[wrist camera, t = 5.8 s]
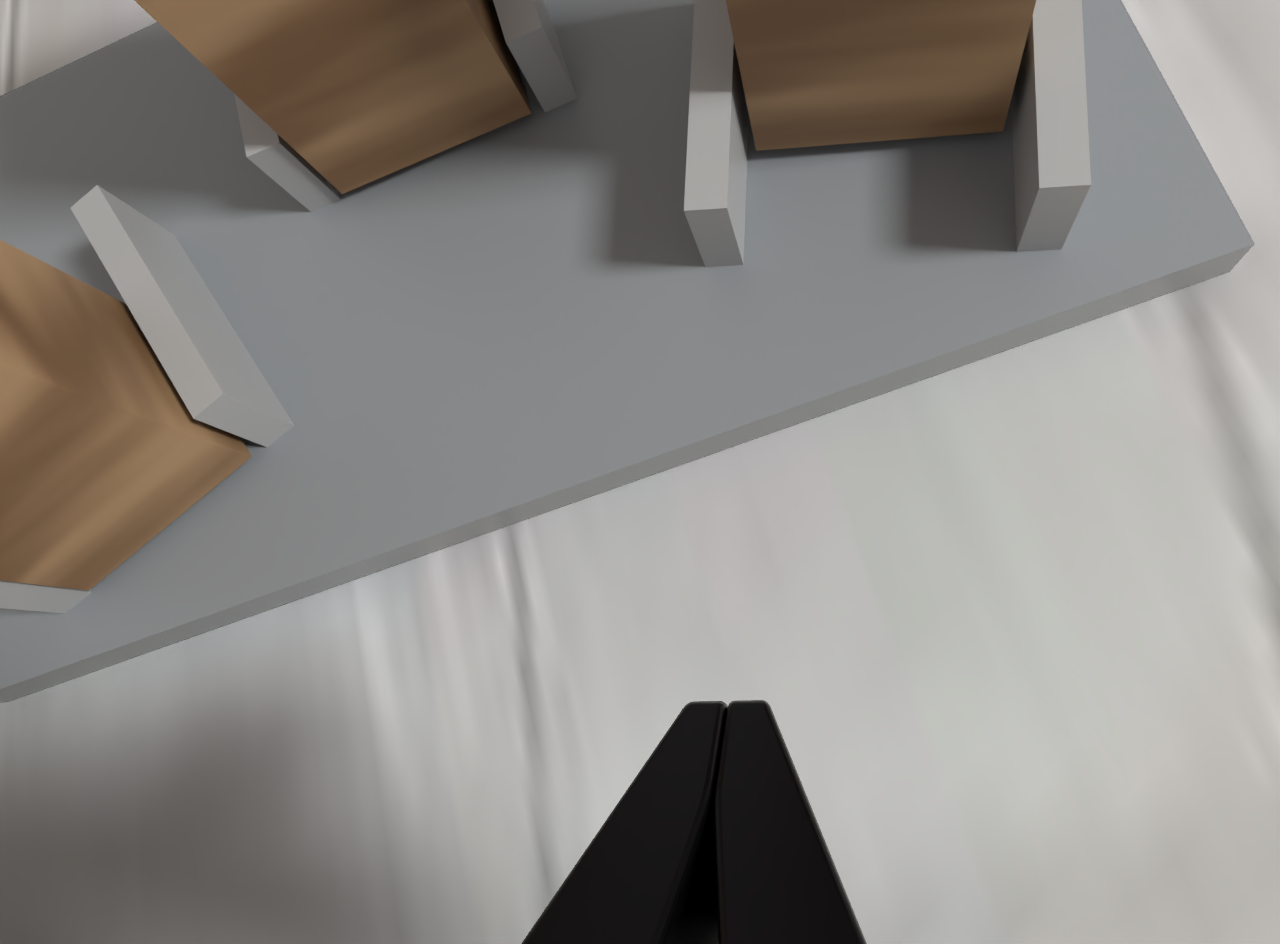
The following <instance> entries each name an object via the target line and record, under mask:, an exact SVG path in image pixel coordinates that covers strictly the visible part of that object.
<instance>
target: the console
mask: <svg viewBox="0 0 1280 944" xmlns="http://www.w3.org/2000/svg"><path fill="white" fill-rule="evenodd" d="M493 2H494V5H495V8H496V12H497V15H498V18H499V21H500V25H501V28H502V31H503V35H504V38H505V41H506V44H507V46H508V47H509V49H510V51H511V53H512V55H513V56H514V58H515V61H516V64H517V67H518V71H519V74H520V77H521V81H522V84H523V87H524V90H525V94H526V97H527V100H528V104H529V107H530V110H531V114H529V115H527V116H524V117H522V118H520V119H517V120H515V121H513V122H510V123H508V124H506V125H503V126H501V127H499V128H496V129H494V130H492V131H489V132H487V133H484V134H482V135H480V136H477V137H475V138H473V139H470V140H468V141H466V142H463V143H461V144H459V145H456V146H454V147H452V148H449V149H447V150H445V151H442V152H440V153H438V154H435V155H433V156H430V157H428V158H426V159H423V160H421V161H419V162H416V163H414V164H412V165H409V166H407V167H405V168H402V169H400V170H398V171H395V172H393V173H391V174H388V175H386V176H383V177H381V178H379V179H376V180H374V181H372V182H369V183H367V184H365V185H362V186H360V187H358V188H355V189H353V190H351V191H348V192H346V193H344V194H341V193H340V192H339V191H338V190H337V189H336V188H335V187H334V186H333V185H332V184H331V183H330V182H329V181H327V180H326V179H325V178H324V177H323V176H322V175H321V174H320V173H319V172H318V171H317V170H316V169H315V168H314V167H312V166H311V165H310V164H309V163H308V162H307V161H306V160H305V159H304V158H303V157H302V156H301V155H300V154H299V153H297V152H296V151H295V150H294V149H293V148H292V147H291V146H290V145H289V144H288V143H287V142H286V141H285V140H284V139H282V138H281V137H280V136H279V135H278V134H277V133H276V132H275V131H274V130H273V129H272V128H271V127H270V126H269V125H267V124H266V123H265V122H264V121H263V120H262V119H261V118H260V117H259V116H258V115H257V114H256V113H255V112H254V111H252V110H251V109H250V108H249V107H248V106H247V105H246V104H245V103H244V102H243V101H242V100H241V99H240V98H239V97H237V96H236V95H235V94H234V93H233V92H232V91H231V90H230V89H229V88H228V87H227V86H226V85H225V84H224V83H222V82H221V81H220V80H219V79H218V78H217V77H216V76H215V75H214V74H213V73H212V72H211V71H210V70H209V69H207V68H206V67H205V66H204V65H203V64H202V63H201V62H200V61H199V60H198V59H197V58H196V57H195V56H194V55H192V54H191V53H190V52H189V51H188V50H187V49H186V48H185V47H184V46H183V45H182V44H181V43H180V42H179V41H177V40H176V39H175V38H174V37H173V36H172V35H171V34H170V33H169V32H168V31H167V30H166V29H165V28H163V27H162V26H161V25H160V24H159V23H158V22H156V23H154V24H152V25H150V26H148V27H146V28H144V29H142V30H140V31H137V32H135V33H133V34H131V35H129V36H127V37H125V38H123V39H121V40H119V41H116V42H114V43H112V44H110V45H108V46H106V47H104V48H102V49H100V50H97V51H95V52H93V53H91V54H89V55H87V56H85V57H83V58H81V59H78V60H76V61H74V62H72V63H70V64H68V65H66V66H64V67H62V68H60V69H57V70H55V71H53V72H51V73H49V74H47V75H45V76H43V77H41V78H38V79H36V80H34V81H32V82H30V83H28V84H26V85H24V86H22V87H20V88H17V89H15V90H13V91H11V92H9V93H7V94H5V95H3V96H1V97H0V240H2V241H4V242H6V243H8V244H10V245H12V246H14V247H15V248H17V249H19V250H21V251H23V252H25V253H27V254H29V255H31V256H33V257H35V258H37V259H39V260H41V261H43V262H45V263H47V264H49V265H51V266H53V267H55V268H57V269H59V270H61V271H62V272H64V273H66V274H68V275H70V276H72V277H74V278H76V279H78V280H80V281H82V282H84V283H86V284H88V285H90V286H92V287H94V288H96V289H98V290H100V291H102V292H104V293H106V294H108V295H109V296H111V297H113V298H115V299H117V300H119V301H121V302H123V303H125V304H127V306H128V308H129V309H130V311H131V313H132V314H133V316H134V318H135V320H136V321H137V323H138V325H139V326H140V328H141V330H142V332H143V333H144V335H145V337H146V338H147V340H148V342H149V344H150V345H151V347H152V349H153V350H154V352H155V354H156V356H157V357H158V359H159V361H160V362H161V364H162V366H163V368H164V369H165V371H166V373H167V374H168V376H169V378H170V379H171V381H172V383H173V385H174V386H175V388H176V390H177V391H178V393H179V395H180V397H181V398H182V400H183V402H184V403H185V405H186V407H187V409H188V410H189V412H190V414H191V415H192V417H193V419H196V420H198V421H201V422H203V423H206V424H209V425H211V426H214V427H216V428H219V429H221V430H224V431H226V432H229V433H232V434H234V435H237V436H239V437H241V439H242V441H243V442H244V444H245V446H246V447H247V449H248V451H249V452H250V454H251V456H252V457H251V458H249V459H248V460H247V461H246V462H245V463H243V464H242V465H241V466H240V467H238V468H237V469H236V470H235V471H234V472H232V473H231V474H230V475H229V476H228V477H226V478H225V479H224V480H223V481H221V482H220V483H219V484H218V485H217V486H215V487H214V488H213V489H212V490H210V491H209V492H208V493H207V494H206V495H204V496H203V497H202V498H201V499H200V500H198V501H197V502H196V503H195V504H193V505H192V506H191V507H190V508H189V509H187V510H186V511H185V512H184V513H183V514H181V515H180V516H179V517H178V518H176V519H175V520H174V521H173V522H172V523H170V524H169V525H168V526H167V527H165V528H164V529H163V530H162V531H161V532H159V533H158V534H157V535H156V536H155V537H153V538H152V539H151V540H150V541H148V542H147V543H146V544H145V545H144V546H142V547H141V548H140V549H139V550H138V551H136V552H135V553H134V554H133V555H131V556H130V557H129V558H128V559H127V560H125V561H124V562H123V563H122V564H120V565H119V566H118V567H117V568H116V569H114V570H113V571H112V572H111V573H110V574H108V575H107V576H106V577H105V578H103V579H102V580H101V581H100V582H99V583H97V584H96V585H95V586H94V587H93V588H91V589H90V590H89V591H88V590H79V589H70V588H62V587H53V586H44V585H36V584H27V583H18V582H10V581H1V580H0V702H9V701H11V700H14V699H17V698H20V697H23V696H26V695H29V694H31V693H34V692H37V691H40V690H43V689H46V688H48V687H51V686H54V685H57V684H60V683H63V682H65V681H68V680H71V679H74V678H77V677H80V676H83V675H85V674H88V673H91V672H94V671H97V670H100V669H102V668H105V667H108V666H111V665H114V664H117V663H119V662H122V661H125V660H128V659H131V658H134V657H136V656H139V655H142V654H145V653H148V652H151V651H154V650H156V649H159V648H162V647H165V646H168V645H171V644H173V643H176V642H179V641H182V640H185V639H188V638H190V637H193V636H196V635H199V634H202V633H205V632H208V631H210V630H213V629H216V628H219V627H222V626H225V625H227V624H230V623H233V622H236V621H239V620H242V619H244V618H247V617H250V616H253V615H256V614H259V613H261V612H264V611H267V610H270V609H273V608H276V607H279V606H281V605H284V604H287V603H290V602H293V601H296V600H298V599H301V598H304V597H307V596H310V595H313V594H315V593H318V592H321V591H324V590H327V589H330V588H332V587H335V586H338V585H341V584H344V583H347V582H350V581H352V580H355V579H358V578H361V577H364V576H367V575H369V574H372V573H375V572H378V571H381V570H384V569H386V568H389V567H392V566H395V565H398V564H401V563H404V562H406V561H409V560H412V559H415V558H418V557H421V556H423V555H426V554H429V553H432V552H435V551H438V550H440V549H443V548H446V547H449V546H452V545H455V544H457V543H460V542H463V541H466V540H469V539H472V538H475V537H477V536H480V535H483V534H486V533H489V532H492V531H494V530H497V529H500V528H503V527H506V526H509V525H511V524H514V523H517V522H520V521H523V520H526V519H529V518H531V517H534V516H537V515H540V514H543V513H546V512H548V511H551V510H554V509H557V508H560V507H563V506H565V505H568V504H571V503H574V502H577V501H580V500H582V499H585V498H588V497H591V496H594V495H597V494H600V493H602V492H605V491H608V490H611V489H614V488H617V487H619V486H622V485H625V484H628V483H631V482H634V481H636V480H639V479H642V478H645V477H648V476H651V475H653V474H656V473H659V472H662V471H665V470H668V469H671V468H673V467H676V466H679V465H682V464H685V463H688V462H690V461H693V460H696V459H699V458H702V457H705V456H707V455H710V454H713V453H716V452H719V451H722V450H725V449H727V448H730V447H733V446H736V445H739V444H742V443H744V442H747V441H750V440H753V439H756V438H759V437H761V436H764V435H767V434H770V433H773V432H776V431H778V430H781V429H784V428H787V427H790V426H793V425H796V424H798V423H801V422H804V421H807V420H810V419H813V418H815V417H818V416H821V415H824V414H827V413H830V412H832V411H835V410H838V409H841V408H844V407H847V406H850V405H852V404H855V403H858V402H861V401H864V400H867V399H869V398H872V397H875V396H878V395H881V394H884V393H886V392H889V391H892V390H895V389H898V388H901V387H903V386H906V385H909V384H912V383H915V382H918V381H921V380H923V379H926V378H929V377H932V376H935V375H938V374H940V373H943V372H946V371H949V370H952V369H955V368H957V367H960V366H963V365H966V364H969V363H972V362H975V361H977V360H980V359H983V358H986V357H989V356H992V355H994V354H997V353H1000V352H1003V351H1006V350H1009V349H1011V348H1014V347H1017V346H1020V345H1023V344H1026V343H1028V342H1031V341H1034V340H1037V339H1040V338H1043V337H1046V336H1048V335H1051V334H1054V333H1057V332H1060V331H1063V330H1065V329H1068V328H1071V327H1074V326H1077V325H1080V324H1082V323H1085V322H1088V321H1091V320H1094V319H1097V318H1099V317H1102V316H1105V315H1108V314H1111V313H1114V312H1117V311H1119V310H1122V309H1125V308H1128V307H1131V306H1134V305H1136V304H1139V303H1142V302H1145V301H1148V300H1151V299H1153V298H1156V297H1159V296H1162V295H1165V294H1168V293H1171V292H1173V291H1176V290H1179V289H1182V288H1185V287H1188V286H1190V285H1193V284H1196V283H1199V282H1202V281H1205V280H1207V279H1210V278H1213V277H1216V276H1219V275H1222V274H1224V273H1227V272H1230V271H1231V270H1232V268H1233V267H1234V266H1235V265H1236V264H1237V263H1238V262H1239V261H1240V260H1241V258H1242V257H1243V256H1244V255H1245V254H1246V253H1247V252H1248V251H1249V249H1250V248H1251V247H1252V246H1253V245H1254V242H1253V240H1252V238H1251V236H1250V234H1249V233H1248V231H1247V229H1246V227H1245V225H1244V224H1243V222H1242V220H1241V218H1240V216H1239V214H1238V213H1237V211H1236V209H1235V207H1234V205H1233V203H1232V202H1231V200H1230V198H1229V196H1228V194H1227V193H1226V191H1225V189H1224V187H1223V185H1222V183H1221V182H1220V180H1219V178H1218V176H1217V174H1216V172H1215V171H1214V169H1213V167H1212V165H1211V163H1210V162H1209V160H1208V158H1207V156H1206V154H1205V152H1204V151H1203V149H1202V147H1201V145H1200V143H1199V141H1198V140H1197V138H1196V136H1195V134H1194V132H1193V131H1192V129H1191V127H1190V125H1189V123H1188V121H1187V120H1186V118H1185V116H1184V114H1183V112H1182V110H1181V109H1180V107H1179V105H1178V103H1177V101H1176V99H1175V98H1174V96H1173V94H1172V92H1171V90H1170V89H1169V87H1168V85H1167V83H1166V81H1165V79H1164V78H1163V76H1162V74H1161V72H1160V70H1159V68H1158V67H1157V65H1156V63H1155V61H1154V59H1153V58H1152V56H1151V54H1150V52H1149V50H1148V48H1147V47H1146V45H1145V43H1144V41H1143V39H1142V37H1141V36H1140V34H1139V32H1138V30H1137V28H1136V27H1135V25H1134V23H1133V21H1132V19H1131V17H1130V16H1129V14H1128V12H1127V10H1126V8H1125V6H1124V5H1123V3H1122V1H1121V0H1036V4H1035V8H1034V12H1033V16H1032V19H1031V23H1030V27H1029V31H1028V35H1027V39H1026V43H1025V47H1024V51H1023V55H1022V59H1021V63H1020V67H1019V71H1018V74H1017V78H1016V82H1015V86H1014V90H1013V94H1012V98H1011V102H1010V106H1009V110H1008V114H1007V118H1006V122H1005V125H1004V129H1003V131H1002V132H989V133H976V134H964V135H951V136H938V137H925V138H913V139H900V140H887V141H875V142H862V143H849V144H836V145H824V146H811V147H798V148H785V149H773V150H760V151H756V148H755V143H754V138H753V133H752V128H751V123H750V118H749V113H748V108H747V103H746V98H745V93H744V88H743V83H742V78H741V73H740V68H739V63H738V58H737V54H736V49H735V44H734V39H733V34H732V29H731V24H730V19H729V14H728V9H727V4H726V0H493Z"/></svg>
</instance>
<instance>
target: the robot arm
mask: <svg viewBox="0 0 1280 944" xmlns="http://www.w3.org/2000/svg"><path fill="white" fill-rule="evenodd" d="M522 944H866V941H865V939H864V936H863V934H862V931H861V929H860V926H859V924H858V921H857V919H856V916H855V914H854V912H853V909H852V907H851V904H850V902H849V899H848V897H847V894H846V892H845V889H844V887H843V884H842V882H841V880H840V877H839V875H838V872H837V870H836V867H835V865H834V862H833V860H832V857H831V855H830V852H829V850H828V848H827V845H826V843H825V840H824V838H823V835H822V833H821V830H820V828H819V825H818V823H817V820H816V818H815V816H814V813H813V811H812V808H811V806H810V803H809V801H808V798H807V796H806V793H805V791H804V789H803V786H802V784H801V781H800V779H799V776H798V774H797V771H796V769H795V766H794V764H793V761H792V759H791V757H790V754H789V752H788V749H787V747H786V744H785V742H784V739H783V737H782V734H781V732H780V729H779V727H778V725H777V722H776V720H775V717H774V715H773V712H772V710H771V707H770V705H769V704H768V703H767V702H766V701H763V700H752V701H732V702H731V703H730V704H729V706H727V704H726V703H724V702H722V701H700V702H690V703H688V704H687V705H686V706H685V707H684V708H683V709H682V711H681V712H680V714H679V715H678V717H677V718H676V720H675V721H674V723H673V724H672V725H671V727H670V728H669V730H668V731H667V733H666V734H665V736H664V737H663V739H662V740H661V742H660V743H659V744H658V746H657V747H656V749H655V750H654V752H653V753H652V755H651V756H650V758H649V759H648V760H647V762H646V763H645V765H644V766H643V768H642V769H641V771H640V772H639V774H638V775H637V776H636V778H635V779H634V781H633V782H632V784H631V785H630V787H629V788H628V790H627V791H626V792H625V794H624V795H623V797H622V798H621V800H620V801H619V803H618V804H617V806H616V807H615V808H614V810H613V811H612V813H611V814H610V816H609V817H608V819H607V820H606V822H605V823H604V824H603V826H602V827H601V829H600V830H599V832H598V833H597V835H596V836H595V838H594V839H593V840H592V842H591V843H590V845H589V846H588V848H587V849H586V851H585V852H584V854H583V855H582V856H581V858H580V859H579V861H578V862H577V864H576V865H575V867H574V868H573V870H572V871H571V872H570V874H569V875H568V877H567V878H566V880H565V881H564V883H563V884H562V886H561V887H560V888H559V890H558V891H557V893H556V894H555V896H554V897H553V899H552V900H551V902H550V903H549V904H548V906H547V907H546V909H545V910H544V912H543V913H542V915H541V916H540V918H539V919H538V920H537V922H536V923H535V925H534V926H533V928H532V929H531V931H530V932H529V934H528V935H527V936H526V938H525V939H524V941H523V942H522Z"/></svg>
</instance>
